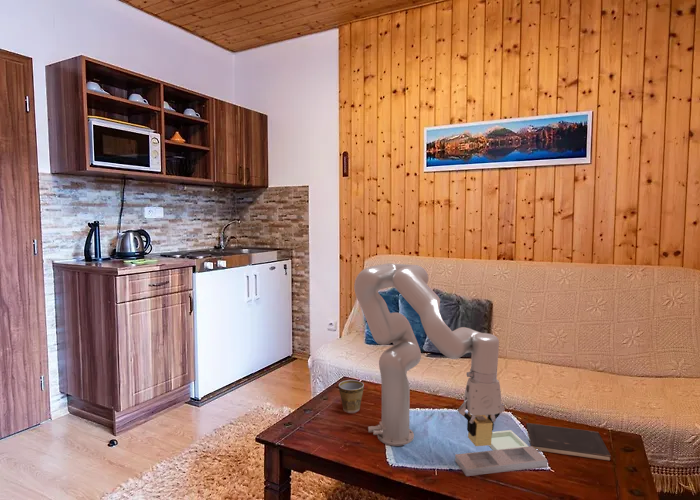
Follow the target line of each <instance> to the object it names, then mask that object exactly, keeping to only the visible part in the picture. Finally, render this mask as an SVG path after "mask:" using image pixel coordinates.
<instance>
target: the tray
mask: <svg viewBox="0 0 700 500" xmlns="http://www.w3.org/2000/svg"><path fill="white" fill-rule="evenodd" d="M488 446H489V448H490V449H491V450H501V449H510V448H519V447H528V446H529V445H528V444H527V443H526V442H525V441H524V440H522V438H520V437H519V436H518V435H517V434H516V433H515V432H513V430H512V429H507V430H499V431H492V439H491V445H488Z"/></svg>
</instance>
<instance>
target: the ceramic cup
mask: <svg viewBox="0 0 700 500" xmlns="http://www.w3.org/2000/svg"><path fill="white" fill-rule="evenodd" d="M364 387H365V384H364V382H362V381H360V380H357V379H356V380H355V379H347V380H343V381H341V382H339V383H338V390H339V396H340V400H341V404H342V409H343V412H345V413H347V414H355V413H357V412H359V411H360V409H361V402H362V399H363V393H364V389H365V388H364Z"/></svg>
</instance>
